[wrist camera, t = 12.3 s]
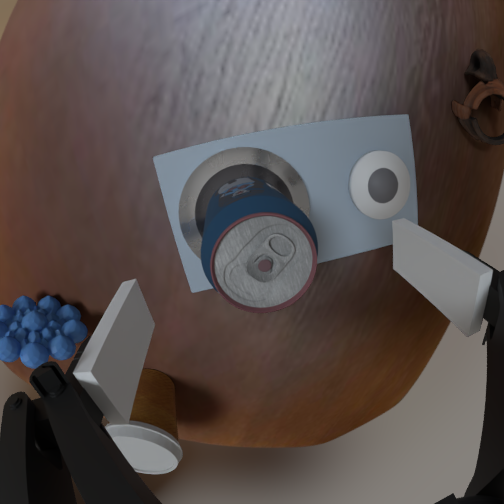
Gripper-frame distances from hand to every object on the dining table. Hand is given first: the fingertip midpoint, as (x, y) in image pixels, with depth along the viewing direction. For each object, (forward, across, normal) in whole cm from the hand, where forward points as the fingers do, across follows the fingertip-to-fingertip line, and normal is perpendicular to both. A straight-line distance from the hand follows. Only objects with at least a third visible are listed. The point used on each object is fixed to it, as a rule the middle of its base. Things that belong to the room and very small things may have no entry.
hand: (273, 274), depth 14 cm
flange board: (+16, +6, 0) cm, 17 cm away
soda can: (+14, 0, 0) cm, 14 cm away
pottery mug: (+17, +31, +9) cm, 36 cm away
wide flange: (+15, 0, 0) cm, 15 cm away
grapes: (+16, -25, -6) cm, 31 cm away
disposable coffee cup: (+16, -17, -20) cm, 31 cm away
